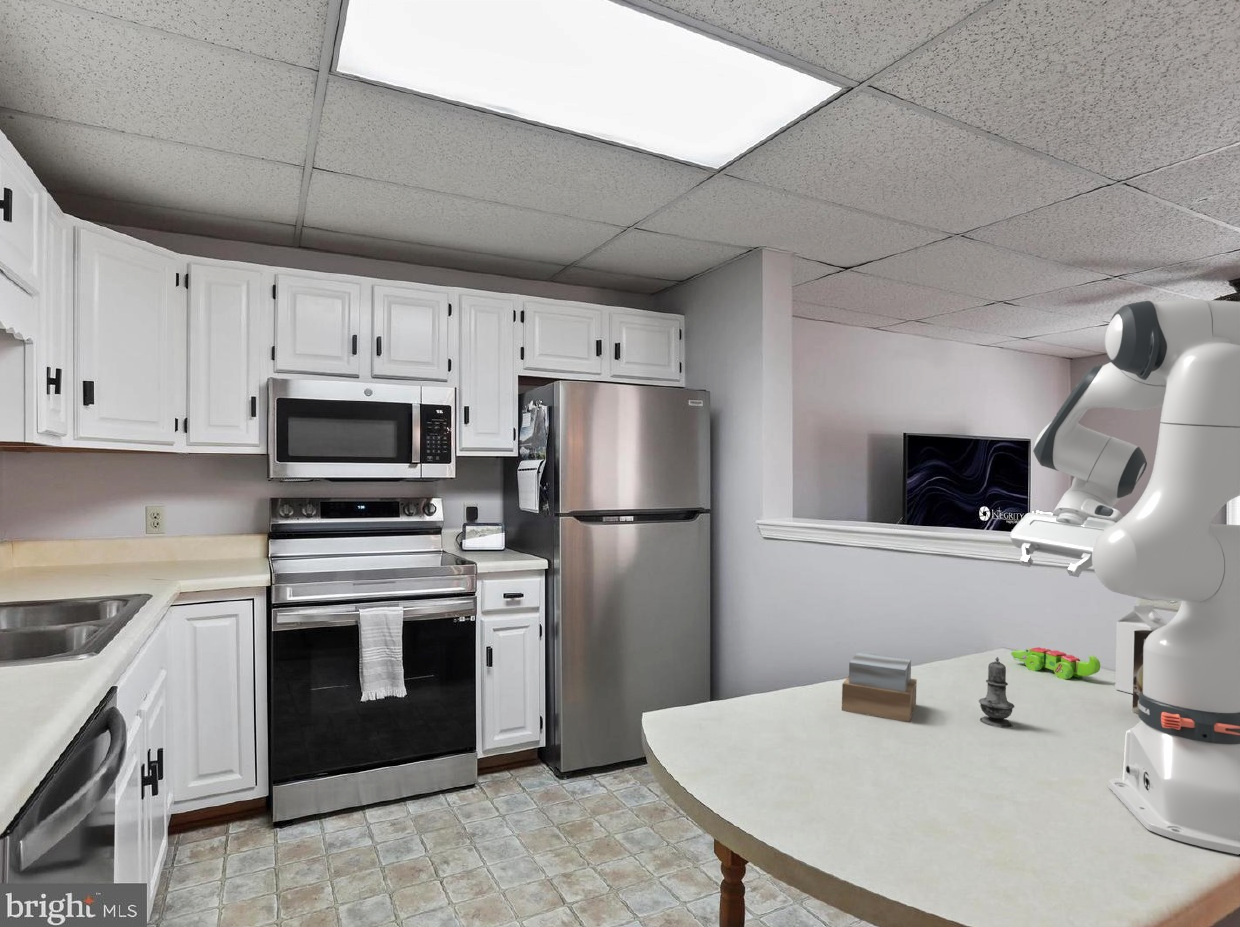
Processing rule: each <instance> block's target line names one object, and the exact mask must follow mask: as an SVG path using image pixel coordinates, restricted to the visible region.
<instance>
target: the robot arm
mask: <svg viewBox="0 0 1240 927" xmlns="http://www.w3.org/2000/svg"><path fill="white" fill-rule="evenodd" d="M1104 335H1105V336H1104V347H1105V351H1106V357H1107V359H1108V361H1109V362H1108V363H1106V364H1101V365H1094V366H1093V367H1092V368H1090V369H1088V371H1087V372H1086V373H1085V374H1084V375H1083V376H1082V378H1081V379H1080V380H1079V382H1078V383H1077V385H1075V387H1074V388H1073V390H1072V391H1071V392H1070V394H1069V395H1068V396H1067V398H1066V399H1065V401H1064V402H1063V403H1062V405H1061V407H1060V408H1059V410H1057V412H1056V415H1055V416H1054V418H1053V419H1052V420H1051V421H1050V422H1049V423H1048V424H1047V425H1045V427H1044V428H1043V429H1042V430H1041V431H1040V433H1039V434H1038V435H1037V438H1036V439H1035V441H1034V445H1033V451H1032V452H1033V454H1034V456H1035V458H1036V460H1037V462H1038V463H1039V465H1040V466H1042V467H1045V468H1048V469H1051V470H1055V471H1057V472H1059V471H1060V472H1062V473H1064V474H1067V475H1069V476H1072V477H1074V478H1073V479H1072V481H1071V482H1072V483H1071V486H1070V488H1069V489H1067V490H1066V491H1065V492H1064V493H1063V495H1062V497H1061V498H1060V499H1059V501H1058V503H1057V505H1056V506H1055V508H1054V510H1053V511H1043V510H1039V509H1037V510H1034V511H1031V512H1028V513H1025V515H1024V516H1023V517H1022V518H1021V519H1020V520H1019V521H1018V522H1017V524H1016V525H1015V526H1014V527H1013V529H1011V532H1009V538H1010V540H1011V542H1012V544H1013V545H1014V546H1015V547H1016V548H1017V549H1021V552H1022V553H1021V554H1022V556H1021V557H1020V559H1019V564H1020V566H1022V567H1027V568H1030V567H1032V564H1033V563H1034V560H1033V559H1032V557H1031V556H1030V555H1033V554H1034V552H1037V553H1038V552H1039V553H1043V554H1048V555H1054V556H1060V557H1066V558H1071V559H1077V560H1079V561H1078V562H1077V563H1070V564H1069V567H1067V570H1066V572H1067V574H1068V575H1069V576H1070V577H1074V578H1075V577H1076V578H1079V577H1080V576H1081V574H1082V572H1084V571H1085V570H1087V569H1089V568H1091V567H1093V570H1094V573H1095V575H1096V577H1097V579H1098V580H1099V582H1100V583H1102V585H1104V587H1105V588H1106V589H1107V590H1108V591H1110V592H1113V593H1117V594H1121V595H1125V596H1129V597H1133V598H1137V599H1143V600H1146V601H1147V600H1148V601H1163V602H1164V601H1168V602H1181V603H1180V606H1179V608H1178V611H1177V612H1176V614H1175V615H1174V616H1173V618H1172V619H1170V621H1169V622H1167V623H1168V624H1166V625H1165V626H1163V627H1161V628H1159V629H1156V630H1155V631H1153V632H1152V633H1151V634H1150V635H1149V636H1148V637H1147V638H1146V640H1145V643H1144V646H1143V691H1142V692H1140V693H1139V700H1138V713H1137V716H1138V718H1139V721H1138V722H1137V724H1135V725H1134V726H1133V727H1130V728H1129V729H1128V730H1126V731H1125V738H1124V750H1123V764H1122V765H1123V766H1122V767H1123V768H1122V777H1116V778H1115V777H1114V778H1110V779H1109V780H1108V784H1107V785H1108V788H1109V789H1110V791H1111V792H1113V794H1114V795H1115V796H1116V797H1117V798H1118V799H1119V800H1120V801H1121V802H1122V803H1123V805H1124V806H1125V807H1126V808H1127V809H1128V810H1129V812H1131V814H1133V816H1134V817H1135V818H1136V819H1137V820H1138V822H1140V823H1141V824H1142V825H1143V826H1144V827H1145V829H1147V830H1148V831H1150V832H1152V833H1155V834H1158V835H1161V836H1163V837H1165V838H1166V837H1167V838H1170V839H1171V840H1172V839H1173V840H1176V841H1179V842H1182V843H1186V844H1190V845H1193V846H1198V847H1201V848H1206V849H1211V850H1215V851H1219V852H1224V853H1228V854H1234V855H1239V854H1240V524H1222V523H1221V524H1216V523H1213V520H1214V519H1215V517H1216V516H1217V514H1218V513H1219V511H1220V510H1221V509H1222V508H1223V506H1225V505H1226V504H1228V502H1230V501H1231V500H1233V499H1235V498H1238V497H1240V301H1234V300H1232V301H1231V300H1218V299H1217V300H1215V299H1212V300H1208V299H1207V300H1205V299H1203V298H1186V299H1185V298H1184V299H1172V300H1171V299H1170V300H1161V301H1154V302H1152V301H1150V300H1143V301H1137V302H1132V303H1127V304H1124V305H1123V306H1121V307H1120V308H1119V309H1118V310H1116V312H1114V313H1113V315H1112V317H1111V319H1110V322H1109V324H1108V326H1107V328H1106V332H1105V334H1104ZM1097 408H1101V409H1102V408H1104V409H1105V408H1106V409H1107V408H1108V409H1120V410H1127V411H1137V412H1138V411H1149V410H1154V409H1157V408H1161V414H1160V421H1159V422H1160V423H1159V430H1158V438H1157V444H1156V445H1157V446H1156V452H1155V457H1154V462H1153V467H1152V471H1151V476H1150V478H1149V481H1148V483H1147V485H1146V488H1145V489H1144V491H1143V493H1142V495H1141V496H1140V498H1139V499H1138V500H1137V502H1136V503H1135V505H1134V506H1132V508H1131V509H1130V510H1129V511H1128V513H1126V514H1125V515H1123V514H1122V512H1121V511H1120V510H1119V509H1117V508H1114V506H1115V505H1116V504H1117V503H1118V502H1119V501H1120V500H1121V499H1122V498H1125V497H1127V496H1129V495H1131V494H1132V493H1133V491H1134V489H1135V487H1136V484H1137V483H1138V481H1140V479H1141V477H1142V476H1143V475H1144V473H1145V471H1146V468H1147V466H1148V461H1147V458H1146V456H1145V453H1144V452H1143V450H1142V449H1141V447H1139V446H1138V445H1135V444H1133V443H1131V442H1128V441H1125V440H1123V439H1120V438H1117V437H1115V436H1110V435H1107V434H1105V433H1102V432H1099V431H1096V430H1094V429H1092V428H1088V427H1086V426H1084V425H1082V424H1081V423H1079V422H1080V420H1081V419H1082V418H1083V416H1084V415H1085V414H1086V412H1087V411H1088V410H1090V409H1097Z"/></svg>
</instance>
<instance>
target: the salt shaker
mask: <svg viewBox="0 0 1240 927" xmlns="http://www.w3.org/2000/svg"><path fill="white" fill-rule="evenodd" d="M987 670H988V671H987V673H988V674H987V675H988V676H987V679H986V680H985V682H986V683H987V691H986V696H985V697H983V698H980V699H978V702H979V704H980V706H979V707H980V709H981V711H982V712H983V713H984V714H985V716H982V717H981V718H980V719H979V721H980V722H981V723H983V724H984V725H987V726H991V727H995V728H1004V729H1005V728H1011V727H1013V723H1012V722H1011V721H1009V720H1008V719H1007V718H1009V717H1010V716H1011V715H1012V713H1013V709H1014V708H1015V704H1013V703H1012V702H1010V701H1009V700H1008V698H1007V686H1008V685H1009V683H1008V682H1006V681H1007V679H1006V677H1007V674H1006V673H1007V668H1006V665H1004V664H1003V663H1001V662H1000V658H999V657H998V656H997V657H996V658H995V661H993V662H990V663H989V664H988V669H987Z"/></svg>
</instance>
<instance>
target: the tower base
mask: <svg viewBox="0 0 1240 927" xmlns="http://www.w3.org/2000/svg"><path fill="white" fill-rule="evenodd" d="M848 667H849V668H848V676H847V677H846V678H845V680H844V681H843V682H842V684H841V685H842V686H841V690H842V691H841V711H843V710H845V711H844V712H850V713H856V714H861V715H866V714H869V715H868V716H872V715H874V716H873V717H878V716H879V718H883V717H884V718H885V719H890V720H895V721H896V720H897V721H901V720H902V721H901V722H906V723H909V722H910V721H911V720H912V716H913V714H914V711H915V709H916V706H917V681H918V680H917V679H916V678H912V677H911V674H912V659H911V658H905V657H904V658H903V657H899V656H898V657H896V656H891V655H890V656H888V655H882V654H875V653H874V654H873V653H867V652H860V651H858V652H857V653H856V654H855V655H854V656H853V658H851V659H850V661H849V664H848Z"/></svg>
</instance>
